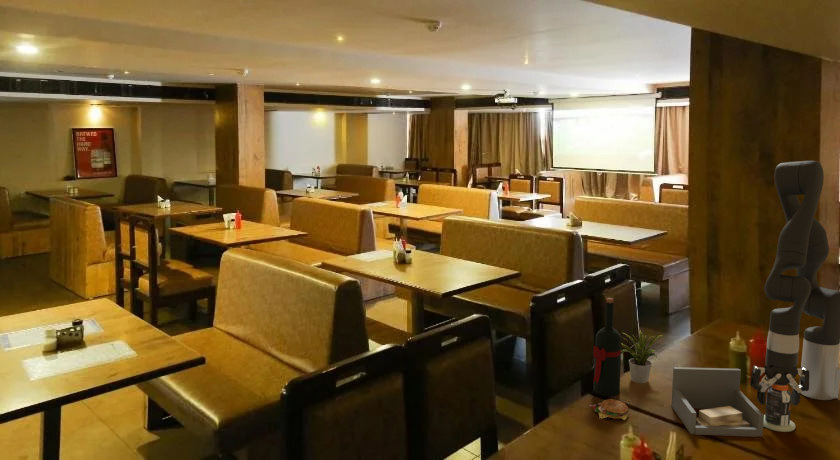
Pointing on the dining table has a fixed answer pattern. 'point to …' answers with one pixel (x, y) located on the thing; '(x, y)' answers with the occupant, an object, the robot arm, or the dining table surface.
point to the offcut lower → (736, 424)
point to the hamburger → (612, 409)
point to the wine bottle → (607, 356)
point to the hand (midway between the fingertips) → (777, 403)
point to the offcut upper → (720, 416)
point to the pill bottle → (778, 405)
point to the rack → (713, 399)
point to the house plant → (640, 358)
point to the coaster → (779, 428)
